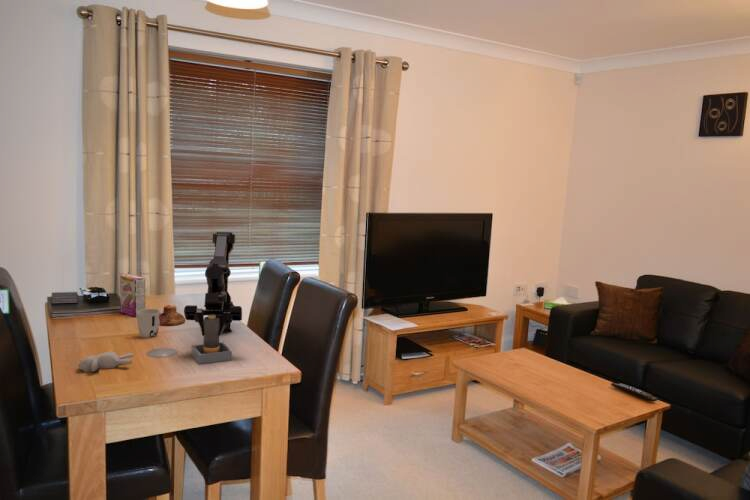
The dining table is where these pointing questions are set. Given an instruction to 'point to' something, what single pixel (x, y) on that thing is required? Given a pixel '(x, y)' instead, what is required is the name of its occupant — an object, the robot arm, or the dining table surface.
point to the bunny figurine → (104, 361)
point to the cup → (148, 322)
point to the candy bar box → (132, 294)
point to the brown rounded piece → (171, 317)
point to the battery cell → (211, 334)
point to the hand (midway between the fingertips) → (211, 335)
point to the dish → (211, 354)
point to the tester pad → (162, 353)
